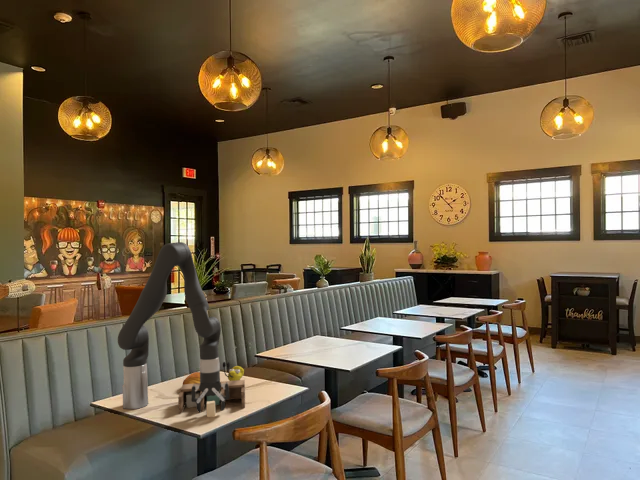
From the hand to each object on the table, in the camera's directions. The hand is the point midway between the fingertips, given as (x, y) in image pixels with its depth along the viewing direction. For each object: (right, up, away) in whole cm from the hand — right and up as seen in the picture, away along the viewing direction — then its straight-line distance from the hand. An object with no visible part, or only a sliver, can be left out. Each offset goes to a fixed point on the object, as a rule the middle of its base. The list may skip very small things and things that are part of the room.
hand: (211, 411), depth 182 cm
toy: (+4, -2, +30) cm, 30 cm away
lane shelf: (-2, -2, +11) cm, 11 cm away
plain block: (-10, -2, +13) cm, 16 cm away
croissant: (-14, -3, +36) cm, 38 cm away
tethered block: (-1, -2, +7) cm, 8 cm away
